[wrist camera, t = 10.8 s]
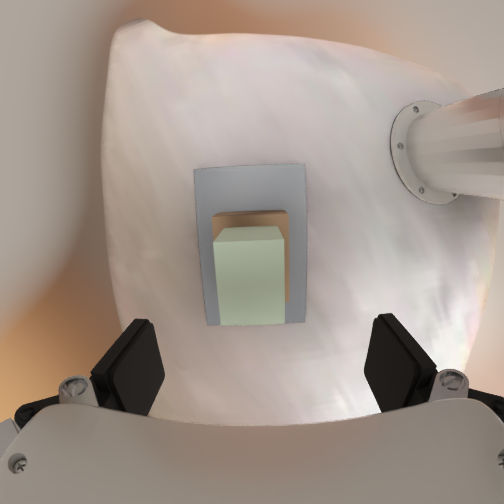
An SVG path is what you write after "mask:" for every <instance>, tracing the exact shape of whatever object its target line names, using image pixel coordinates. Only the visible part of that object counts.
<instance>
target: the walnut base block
mask: <svg viewBox="0 0 504 504" xmlns="http://www.w3.org/2000/svg"><path fill="white" fill-rule="evenodd" d="M253 226H278V228H279V230H280V232H281V234H282V236H283V238H284V262H285V302H289V214H288V213H287V212H286V211H285V210H260V211H237V212H218V213H217V214H215V215H214V216H213V217H212V230H213V242H214V240H215V239H216V238H217V237H218V235H219V234H220V233H221V231H222V230H223V229H224V228H231V227H253Z"/></svg>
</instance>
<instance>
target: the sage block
mask: <svg viewBox="0 0 504 504" xmlns="http://www.w3.org/2000/svg"><path fill="white" fill-rule="evenodd" d="M213 249H214V261H215V272H216V283H217V294H218V304H219V313H220V323H221V326H243V325H273V324H285V262H284V238H283V236H282V234H281V232H280V230H279V228H278V226H253V227H231V228H224V229H223V230H222V231H221V233H220V234H219V235H218V237H217V238H216V239H215V240H214V242H213Z"/></svg>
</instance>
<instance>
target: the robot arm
mask: <svg viewBox="0 0 504 504" xmlns="http://www.w3.org/2000/svg"><path fill="white" fill-rule="evenodd" d="M397 145H398V147H397ZM391 151H392V156H393V161H394V164H395V167H396V170H397V172H398V174H399V176H400V178H401V180H402V181H403V183H404V184H405V186H406V187H407V188H408V189H409V190H410V191H411V192H412V194H413V195H415V196H416V197H418V198H419V199H420V200H423V201H425V202H427V203H432V204H441V205H442V204H446V203H450V202H451V201H453V200H455V199H456V198H457V197H458V196H459V195H460V194H465V195H473V196H480V197H487V198H493V199H500V200H504V88H502V89H498V90H495V91H491V92H488V93H485V94H481V95H478V96H474V97H471V98H468V99H465V100H462V101H458V102H455V103H452V104H449V105H446V106H443V107H441V106H440V105H437V104H435V103H432V102H427V101H420V102H415V103H413V104H410V105H409V106H407V107H405V108H404V109H403V110H402V111H401V112H400V113H399V114H398V116H397V118H396V120H395V122H394V125H393V128H392V134H391ZM91 374H92V376H91V377H90V378H87V377H85V376H81V375H77V376H72V377H69V378H67V379H65V380H64V381H63V382H62V383H61V384H60V386H59V390H58V391H59V395H57V396H53V397H50V398H46V399H42V400H39V401H35V402H32V403H28V404H25V405H22V406H21V407H20V408H19V409H18V410H17V411H16V413H15V417H14V419H15V420H12V419H11V418H9V419H7V420H5V421H3V422H1V423H0V504H504V398H503V397H501V396H497V395H493V394H489V393H485V392H481V391H477V390H473V389H469V381H468V378H467V377H466V376H465V375H464V374H463V373H462V372H460V371H458V370H455V369H444V370H442V371H440V372H438V371H437V370H436V364H435V363H434V362H433V361H432V360H431V358H430V357H429V356H428V355H427V353H426V352H425V351H424V350H423V349H422V347H421V346H420V345H419V344H418V343H417V342H416V340H415V339H414V338H413V337H412V336H411V334H410V333H409V332H408V331H407V330H406V329H405V328H404V326H403V325H402V324H401V323H400V322H399V321H398V320H397V318H396V317H395V316H394V315H393V314H392V313H387V314H379V315H378V317H377V318H375V319H374V322H373V327H372V333H371V338H370V343H369V348H368V353H367V358H366V362H365V366H364V375H365V377H366V379H367V381H368V384H369V386H370V388H371V390H372V392H373V394H374V397H375V399H376V401H377V403H378V406H379V408H380V410H381V412H382V413H378V414H372V415H367V416H361V417H355V418H349V419H342V420H334V421H326V422H316V423H305V424H290V425H221V424H205V423H194V422H184V421H176V420H168V419H161V418H155V417H149V416H147V415H148V413H149V411H150V409H151V406H152V404H153V402H154V400H155V398H156V396H157V393H158V391H159V389H160V387H161V385H162V383H163V380H164V377H165V372H164V368H163V364H162V360H161V356H160V352H159V348H158V343H157V339H156V335H155V330H154V326H153V324H152V323H150V322H149V320H148V319H134V320H133V322H132V323H131V324H130V325H129V326H128V327H127V329H126V330H125V331H124V332H123V333H122V334H121V336H120V337H119V338H118V339H117V340H116V342H115V343H114V344H113V345H112V346H111V348H110V349H109V350H108V351H107V353H106V354H105V355H104V356H103V357H102V359H101V360H100V361H99V362H98V363H97V365H96V366H95V367H94V368H93V369H92V371H91Z"/></svg>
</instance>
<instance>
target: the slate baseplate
mask: <svg viewBox="0 0 504 504" xmlns="http://www.w3.org/2000/svg"><path fill="white" fill-rule="evenodd" d="M194 185H195V202H196V216H197V230H198V242H199V253H200V264H201V274H202V283H203V292H204V301H205V309H206V318H207V325H221V323H220V313H219V304H218V294H217V283H216V272H215V261H214V249H213V230H212V217H213V216H214V215H215V214H217V213H218V212H237V211H260V210H285V211H286V212H287V213H288V214H289V302H285V324H286V323H303V322H305V315H306V281H307V206H306V173H305V164H275V165H248V166H230V167H215V168H203V169H194Z"/></svg>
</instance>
